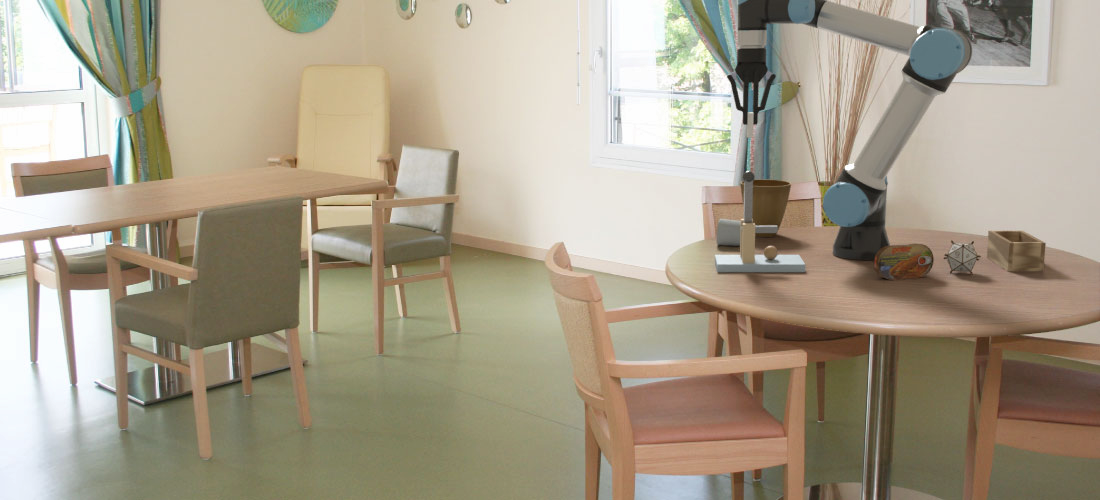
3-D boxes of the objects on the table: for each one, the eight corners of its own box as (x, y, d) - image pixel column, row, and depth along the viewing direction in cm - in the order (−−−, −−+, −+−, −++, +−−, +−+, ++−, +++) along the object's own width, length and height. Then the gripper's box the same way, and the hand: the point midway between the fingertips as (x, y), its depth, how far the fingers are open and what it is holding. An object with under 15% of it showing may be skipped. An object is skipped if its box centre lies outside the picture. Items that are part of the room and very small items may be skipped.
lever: (776, 233, 267) (777, 170, 264) (777, 236, 264) (779, 171, 260) (740, 233, 268) (741, 170, 265) (741, 236, 265) (742, 172, 261)
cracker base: (798, 262, 272) (799, 217, 270) (805, 272, 261) (806, 225, 258) (714, 262, 275) (715, 217, 272) (717, 272, 263) (717, 225, 261)
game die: (964, 286, 258) (988, 253, 258) (967, 281, 250) (991, 248, 250) (933, 266, 261) (956, 234, 261) (934, 261, 253) (958, 227, 253)
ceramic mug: (744, 248, 291) (745, 221, 290) (715, 247, 294) (716, 220, 293) (749, 242, 301) (749, 216, 300) (721, 240, 304) (721, 215, 302)
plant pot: (739, 239, 305) (740, 185, 301) (739, 230, 319) (740, 178, 316) (791, 239, 302) (792, 185, 299) (788, 230, 316) (789, 178, 313)
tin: (878, 281, 250) (879, 247, 248) (871, 278, 253) (872, 244, 251) (933, 277, 253) (935, 243, 251) (926, 274, 256) (928, 241, 254)
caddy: (1020, 257, 272) (1022, 230, 271) (1043, 271, 256) (1045, 242, 254) (986, 257, 273) (988, 230, 272) (1007, 271, 257) (1009, 243, 255)
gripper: (775, 46, 274) (773, 135, 279) (726, 47, 276) (724, 135, 280) (778, 47, 267) (775, 138, 272) (727, 48, 268) (725, 138, 273)
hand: (749, 136), depth 276 cm, fingers closed
